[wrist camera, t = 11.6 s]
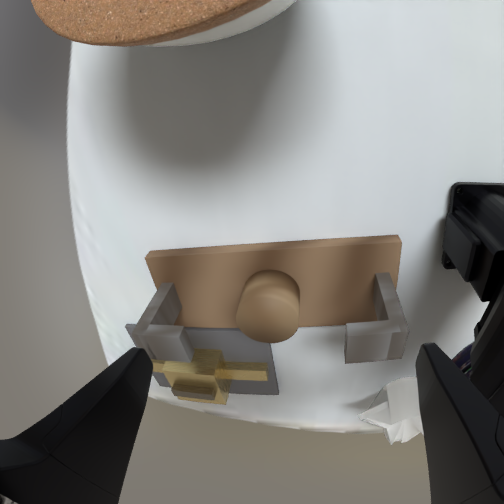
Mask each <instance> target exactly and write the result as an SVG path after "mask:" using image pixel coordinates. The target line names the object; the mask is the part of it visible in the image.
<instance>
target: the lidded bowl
mask: <svg viewBox="0 0 504 504" xmlns="http://www.w3.org/2000/svg"><path fill="white" fill-rule="evenodd" d="M295 1H297V0H31V2H32V4H33V6H34V9H35V11H36V13H37V15H38V16H39V17H40V19H41V20H42V21H43V22H44V24H45V25H46V26H47V27H49V28H50V29H51V30H53V31H54V32H55V33H57V34H58V35H60V36H62V37H65V38H67V39H69V40H72V41H75V42H80V43H85V44H90V45H100V46H122V47H127V46H138V45H141V46H153V47H162V46H187V45H194V44H201V43H208V42H212V41H216V40H220V39H224V38H228V37H232V36H234V35H237V34H240V33H243V32H245V31H248V30H251V29H253V28H255V27H257V26H259V25H261V24H263V23H265V22H267V21H269V20H271V19H272V18H274V17H275V16H277V15H278V14H280V13H282V12H283V11H284V10H286V9H287V8H288V7H289V6H291V5H292V4H293V3H294V2H295Z"/></svg>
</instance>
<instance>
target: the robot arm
mask: <svg viewBox="0 0 504 504" xmlns="http://www.w3.org/2000/svg"><path fill="white" fill-rule="evenodd" d="M459 188H461V190H460V192H459V193H457V190H458V189H459ZM443 249H444V251H443V256H442V265H443V267H444V268H445V269H455V268H457V270H458V271H459V273H460V274H461V276H462V278H463V279H464V280H465V282H470V283H471V285H472V286H473V288H474V290H475V291H476V293H477V295H478V296H479V298H480V300H481V301H482V302H487V301H490V302H489V304H488V306H487V308H486V310H485V312H484V314H483V316H482V318H481V320H480V322H478V323H477V325H476V326H475V328H474V337H475V341H474V343H473V345H472V349H471V353H470V360H471V369H472V371H471V373H470V378H471V381H472V382H471V381H470V379H469V378H468V377H467V376H466V375H465V374H464V373H463V372H462V371H461V370H460V369H459V368H458V367H457V365H456V364H455V363H454V362H453V361H452V360H451V359H450V358H449V357H448V356H447V355H446V354H445V353H444V352H443V351H442V350H441V349H440V348H439V347H438V346H437V345H436V344H435V343H425V344H422V346H421V348H420V351H419V354H418V356H417V359H416V375H417V385H418V397H419V409H420V415H421V421H422V427H423V433H424V439H425V445H426V453H427V461H428V470H429V480H430V491H431V504H504V183H477V182H457V183H455V184H454V185H453V186H452V189H451V200H450V209H449V213H448V215H447V219H446V227H445V234H444V240H443ZM448 261H450V262H449V263H447V262H448ZM152 372H153V363H152V361H151V359H150V357H149V355H148V354H147V352H146V350H145V349H144V348H140V347H133V348H131V349H130V350H129V351H127V352H126V353H125V354H124V355H122V356H121V357H120V358H119V359H117V360H116V361H115V362H114V363H112V364H111V365H110V366H109V367H107V368H106V369H105V370H104V371H102V372H101V373H100V374H99V375H97V376H96V377H95V378H94V379H92V380H91V381H90V382H89V383H88V384H86V385H85V386H84V387H82V388H81V389H80V390H79V391H77V392H76V393H75V394H74V395H73V396H71V397H70V398H69V399H68V400H66V401H65V402H64V403H63V404H61V405H60V406H59V407H58V408H56V409H55V410H54V411H52V412H51V413H50V414H48V415H47V416H46V417H44V418H43V419H41V420H40V421H39V422H37V423H36V424H34V425H33V426H31V427H30V428H28V429H27V430H25V431H23V432H22V433H20V434H19V435H17V436H15V437H13V438H11V439H5V440H0V504H118V502H119V497H120V494H121V490H122V486H123V482H124V478H125V475H126V471H127V467H128V463H129V460H130V456H131V453H132V450H133V446H134V443H135V439H136V435H137V432H138V429H139V426H140V422H141V419H142V416H143V413H144V409H145V406H146V402H147V397H148V392H149V387H150V382H151V377H152Z"/></svg>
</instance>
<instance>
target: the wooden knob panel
mask: <svg viewBox="0 0 504 504" xmlns="http://www.w3.org/2000/svg"><path fill="white" fill-rule="evenodd" d="M401 246H402V241H401V240H400V238H399V236H398V235H385V236H368V237H351V238H335V239H318V240H302V241H287V242H271V243H256V244H241V245H226V246H212V247H198V248H183V249H169V250H156V251H150V252H149V253H148V254H147V256H146V257H145V260H146V263H147V265H148V268H149V271H150V273H151V276H152V278H153V281H154V283H155V286H156V288H157V292H156V293H155V295H154V297H153V298H152V300H151V301H150V303H149V305H148V306H147V308H146V310H145V311H144V313H143V315H142V316H141V318H140V320H139V321H138V323H137V325H136V327H135V328H134V330H133V332H132V333H131V335H132V336H133V338H134V340H135V342H136V344H137V345H138V347H140V348H144V349H145V350H146V352H147V354H148V355H149V357H150V359H156V360H165V361H176V362H188V363H191V360H192V358H193V355H194V352H195V351H194V348H193V346H192V344H191V341H190V339H189V337H188V334H187V332H186V329H185V327H201V328H239V329H240V330H241V331H242V332H243V333H244V334H245V335H246V336H247V337H249V338H251V339H253V340H255V341H259V342H263V343H278V342H282V341H285V340H287V339H289V338H290V337H292V336H293V335H294V334H295V332H296V331H297V329H298V327H311V326H332V325H346V335H345V348H344V354H345V364H347V363H361V362H373V361H383V360H392V359H401V358H402V355H403V352H404V348H405V345H406V341H407V337H408V334H409V329H408V325H407V322H406V319H405V316H404V313H403V310H402V307H401V304H400V301H399V298H398V295H397V292H396V287H397V280H398V272H399V264H400V255H401Z"/></svg>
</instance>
